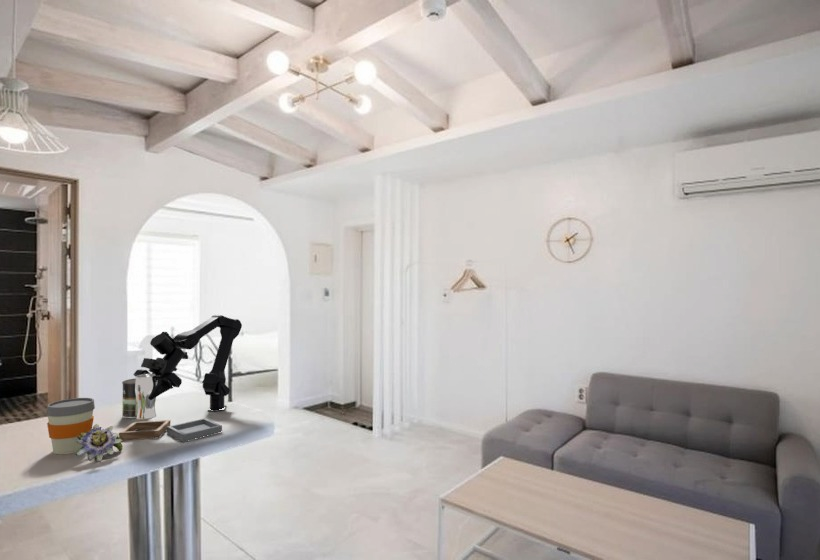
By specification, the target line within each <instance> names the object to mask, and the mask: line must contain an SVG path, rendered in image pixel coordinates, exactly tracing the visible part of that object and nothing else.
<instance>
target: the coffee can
mask: <svg viewBox="0 0 820 560" xmlns="http://www.w3.org/2000/svg"><path fill="white" fill-rule="evenodd" d="M135 381H136V377H135V378H129V379H126V380H123V381H122V410H121V411H122V414H121V417H122V419H126V418H135V419H137V414H138V404H137V399H136V397H135V395H136V394H135Z"/></svg>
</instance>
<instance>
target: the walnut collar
mask: <svg viewBox="0 0 820 560" xmlns="http://www.w3.org/2000/svg"><path fill="white" fill-rule="evenodd" d="M168 426H171V419H165V420H145V421H144V420H143V421H133V422H132V423H131V424H129V425H128V426H126V428H124V429H123V430H121V431H120V432H118V433H119V435H118V437H119V438H120V439H121V440H122V441H129V440H133V441H134V440H147V439H159V438H161V436H162V435H163V434H164V433H166V432H167V431H166V430H167V427H168ZM136 429H139V430H136Z"/></svg>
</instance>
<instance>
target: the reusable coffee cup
mask: <svg viewBox="0 0 820 560" xmlns="http://www.w3.org/2000/svg"><path fill="white" fill-rule="evenodd" d="M46 406H47V407H46V412H45V413H46V416H47V421H48V422H47V423H46V424H47V426H46V427H47V431H48V437H49V439H50V440H51V445H52V453H53V452H54V453H53V454H55V455H66V454H67V453H68V454H74V453H76V452H77V451H78V450H79V449H81V447H82V444H79V443H77V441H79V439H78V438H77V435H78V436H79V437H80V436H81V435H80V434H81V433H86V432H89V431H90V430H92V429H93V426H94V425H93V424H94V418H95V417H94V415H93V413H94V410H95V408H96V406H95V399H94V398H92V397H75V398H67V399H61V400H57V401H56V400H55V401H53V402H50V403H49V404H47V405H46ZM81 439H82V437H81ZM73 452H74V453H73ZM68 454H67V455H68Z"/></svg>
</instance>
